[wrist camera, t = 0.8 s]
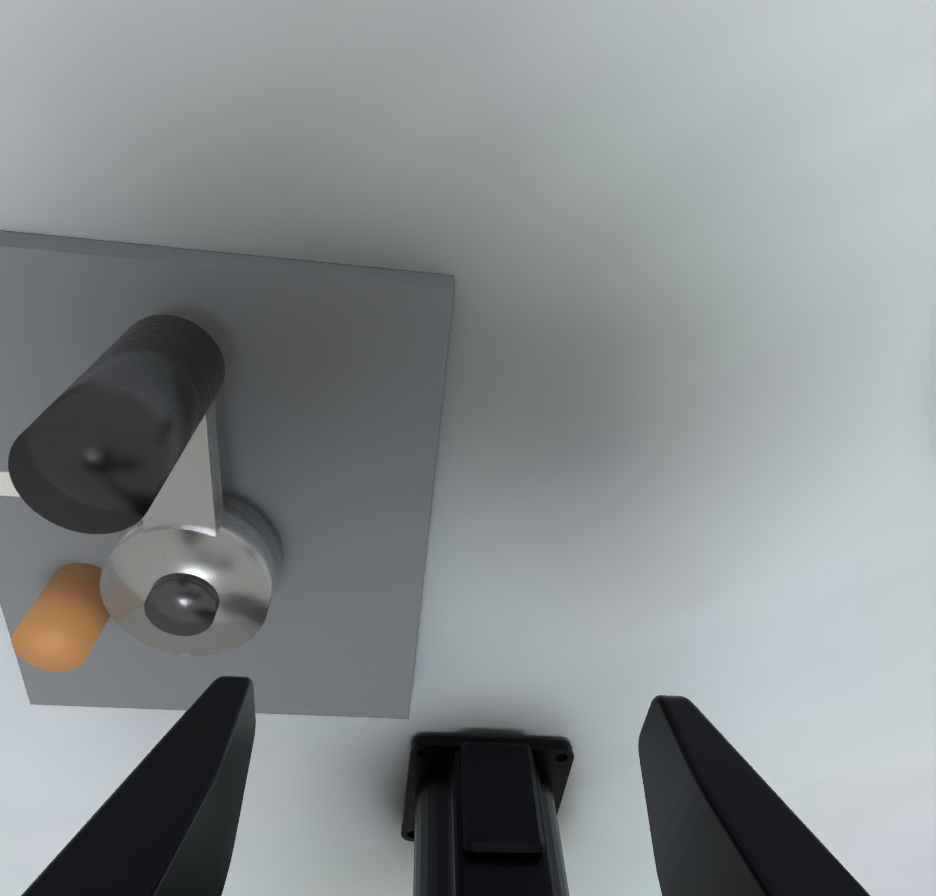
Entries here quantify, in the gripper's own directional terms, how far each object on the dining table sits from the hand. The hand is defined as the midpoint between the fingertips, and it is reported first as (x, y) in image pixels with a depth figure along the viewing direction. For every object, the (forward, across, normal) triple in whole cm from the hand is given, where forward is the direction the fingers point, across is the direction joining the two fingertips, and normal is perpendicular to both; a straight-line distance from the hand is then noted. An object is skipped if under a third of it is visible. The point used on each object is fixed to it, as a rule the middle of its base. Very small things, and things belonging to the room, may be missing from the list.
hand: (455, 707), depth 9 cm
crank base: (+12, +6, +6) cm, 15 cm away
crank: (+10, +6, +4) cm, 13 cm away
